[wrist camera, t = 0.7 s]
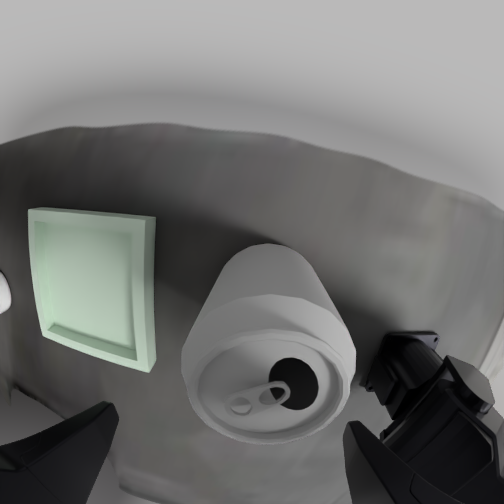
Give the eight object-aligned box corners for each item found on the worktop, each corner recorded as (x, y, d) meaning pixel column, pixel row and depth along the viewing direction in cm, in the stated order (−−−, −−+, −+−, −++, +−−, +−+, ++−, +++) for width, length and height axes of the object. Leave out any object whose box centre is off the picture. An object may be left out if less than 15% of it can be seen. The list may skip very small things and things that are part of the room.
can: (326, 317, 21) (373, 430, 9) (237, 342, 22) (215, 463, 10) (301, 227, 19) (352, 283, 8) (204, 259, 20) (133, 343, 8)
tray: (156, 217, 20) (145, 220, 18) (156, 360, 23) (149, 372, 21) (41, 207, 20) (28, 209, 18) (53, 327, 23) (42, 335, 21)
